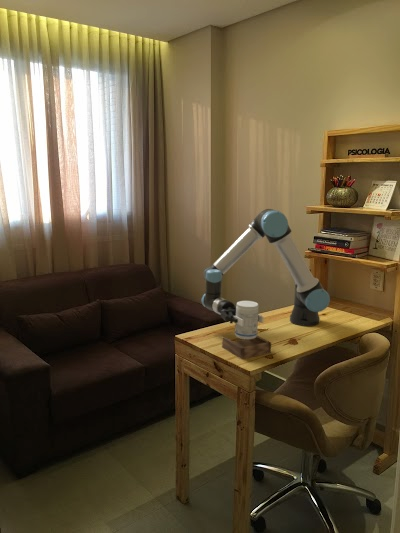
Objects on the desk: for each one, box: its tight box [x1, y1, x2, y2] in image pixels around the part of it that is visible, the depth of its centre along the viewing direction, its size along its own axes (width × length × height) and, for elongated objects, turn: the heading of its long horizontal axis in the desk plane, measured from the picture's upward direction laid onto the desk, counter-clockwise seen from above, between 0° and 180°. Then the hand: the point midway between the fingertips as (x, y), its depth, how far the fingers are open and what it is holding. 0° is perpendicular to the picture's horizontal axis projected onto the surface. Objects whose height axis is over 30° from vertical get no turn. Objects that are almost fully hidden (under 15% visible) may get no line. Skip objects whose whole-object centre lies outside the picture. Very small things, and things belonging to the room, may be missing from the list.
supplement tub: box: [234, 300, 260, 340], centre depth 194 cm, size 10×10×15 cm
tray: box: [221, 335, 272, 360], centre depth 197 cm, size 15×15×4 cm
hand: (252, 321), depth 190 cm, fingers closed on supplement tub, 9 cm apart
